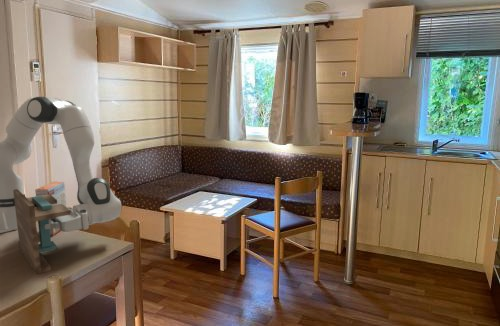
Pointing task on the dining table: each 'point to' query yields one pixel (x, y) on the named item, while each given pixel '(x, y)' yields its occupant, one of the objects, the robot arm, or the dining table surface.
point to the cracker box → (58, 193)
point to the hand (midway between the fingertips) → (41, 223)
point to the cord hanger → (44, 233)
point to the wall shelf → (34, 227)
